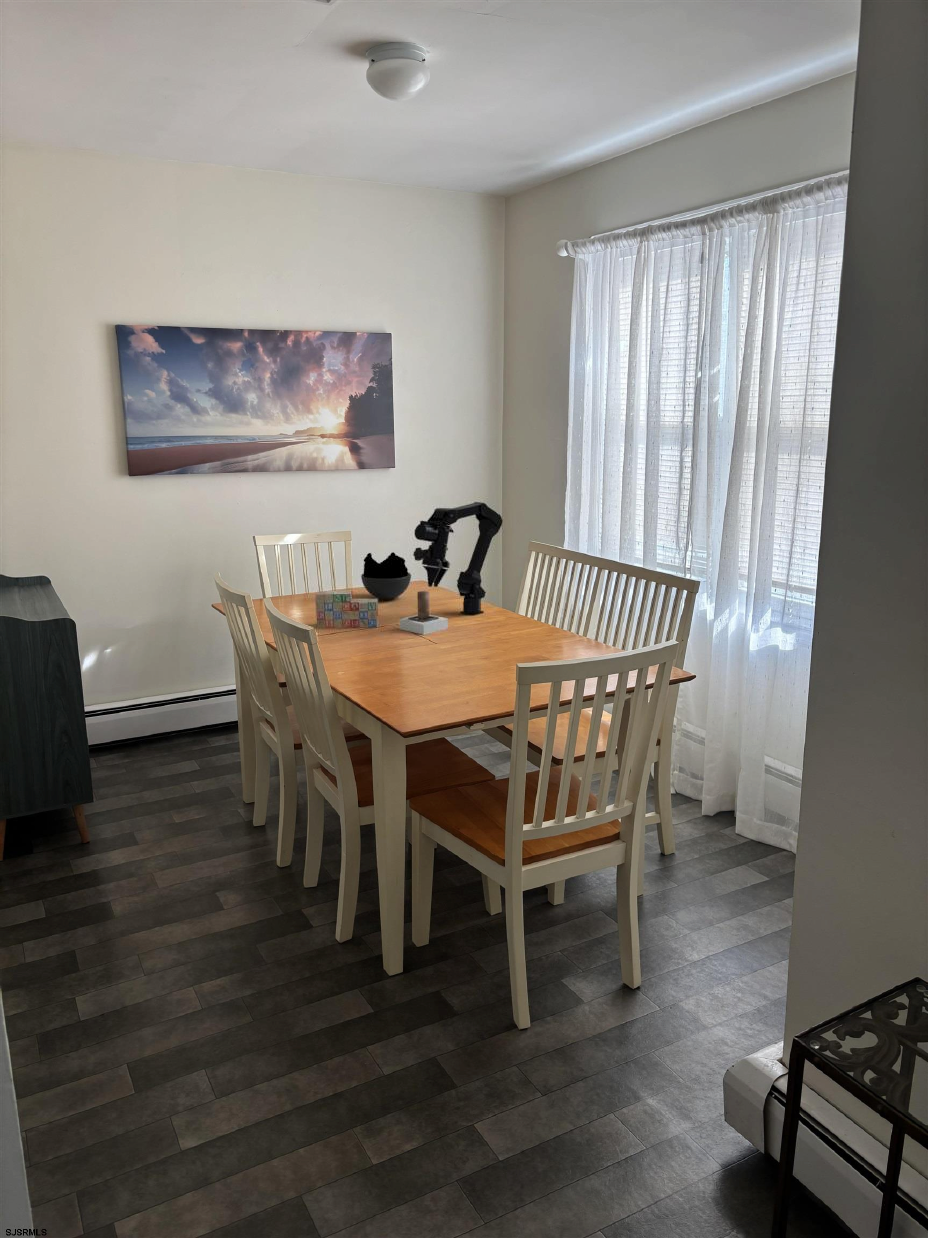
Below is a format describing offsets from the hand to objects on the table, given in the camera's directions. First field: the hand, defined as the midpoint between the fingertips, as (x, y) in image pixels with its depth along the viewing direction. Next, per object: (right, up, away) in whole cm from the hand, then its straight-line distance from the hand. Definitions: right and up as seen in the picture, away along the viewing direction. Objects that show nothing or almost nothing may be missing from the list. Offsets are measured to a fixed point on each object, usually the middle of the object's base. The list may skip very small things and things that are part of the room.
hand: (432, 586), depth 322 cm
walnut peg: (-3, -15, -7) cm, 17 cm away
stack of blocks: (-30, -14, -2) cm, 33 cm away
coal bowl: (-20, -4, +43) cm, 47 cm away
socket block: (-3, -15, -7) cm, 17 cm away
